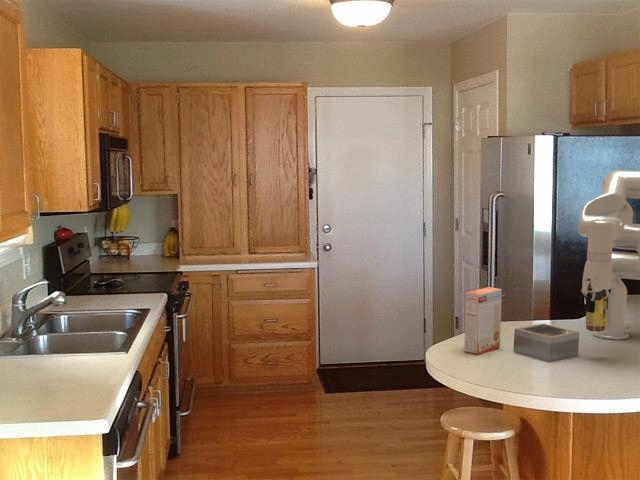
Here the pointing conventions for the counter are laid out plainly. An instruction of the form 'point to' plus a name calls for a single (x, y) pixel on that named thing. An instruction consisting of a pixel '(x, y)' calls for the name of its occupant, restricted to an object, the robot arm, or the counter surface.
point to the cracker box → (482, 320)
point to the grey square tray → (546, 342)
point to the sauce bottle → (597, 313)
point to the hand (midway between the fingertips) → (596, 310)
